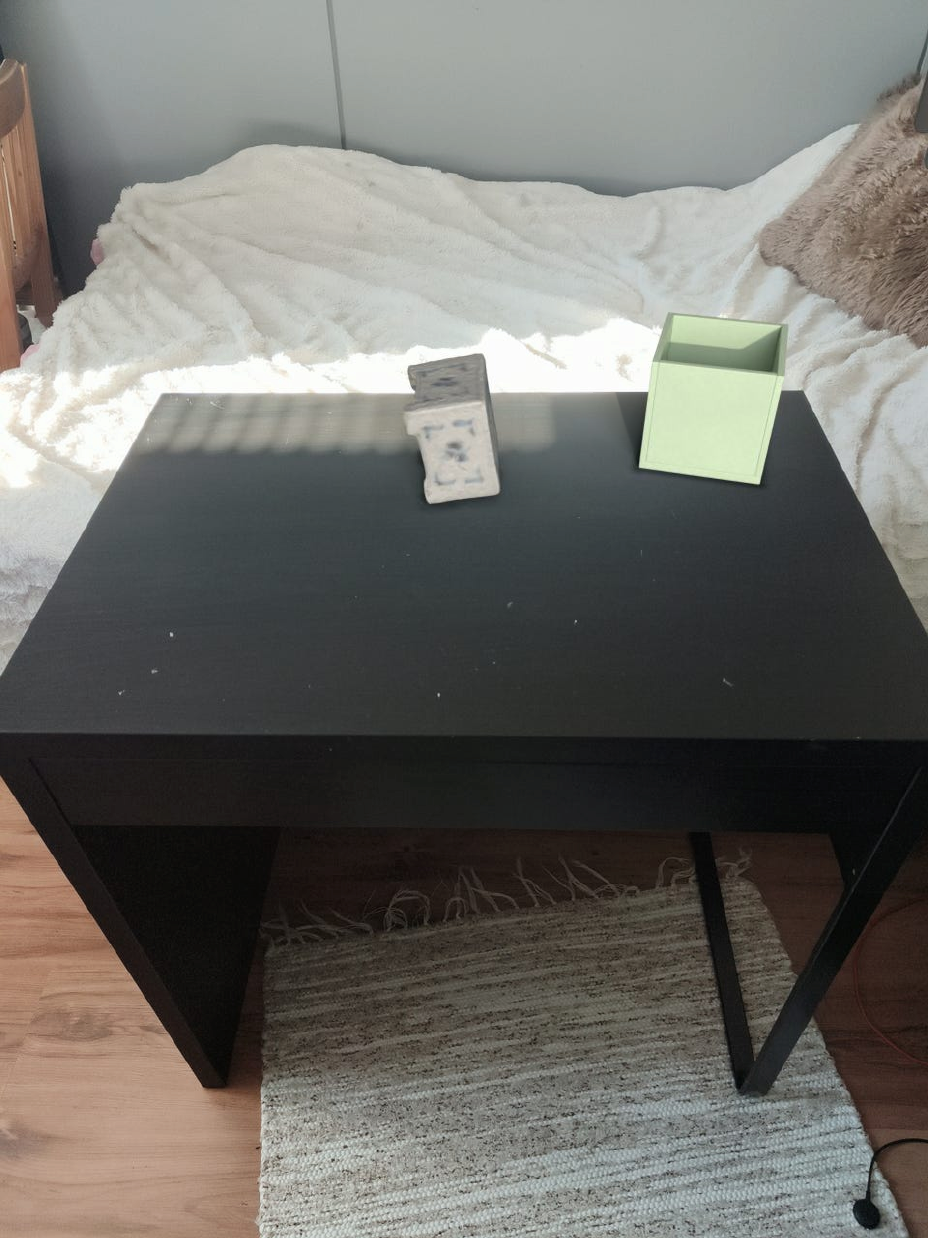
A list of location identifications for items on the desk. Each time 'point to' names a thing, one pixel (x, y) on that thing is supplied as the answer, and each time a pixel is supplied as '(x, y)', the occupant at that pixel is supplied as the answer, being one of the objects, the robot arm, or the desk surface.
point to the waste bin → (713, 396)
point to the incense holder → (454, 428)
